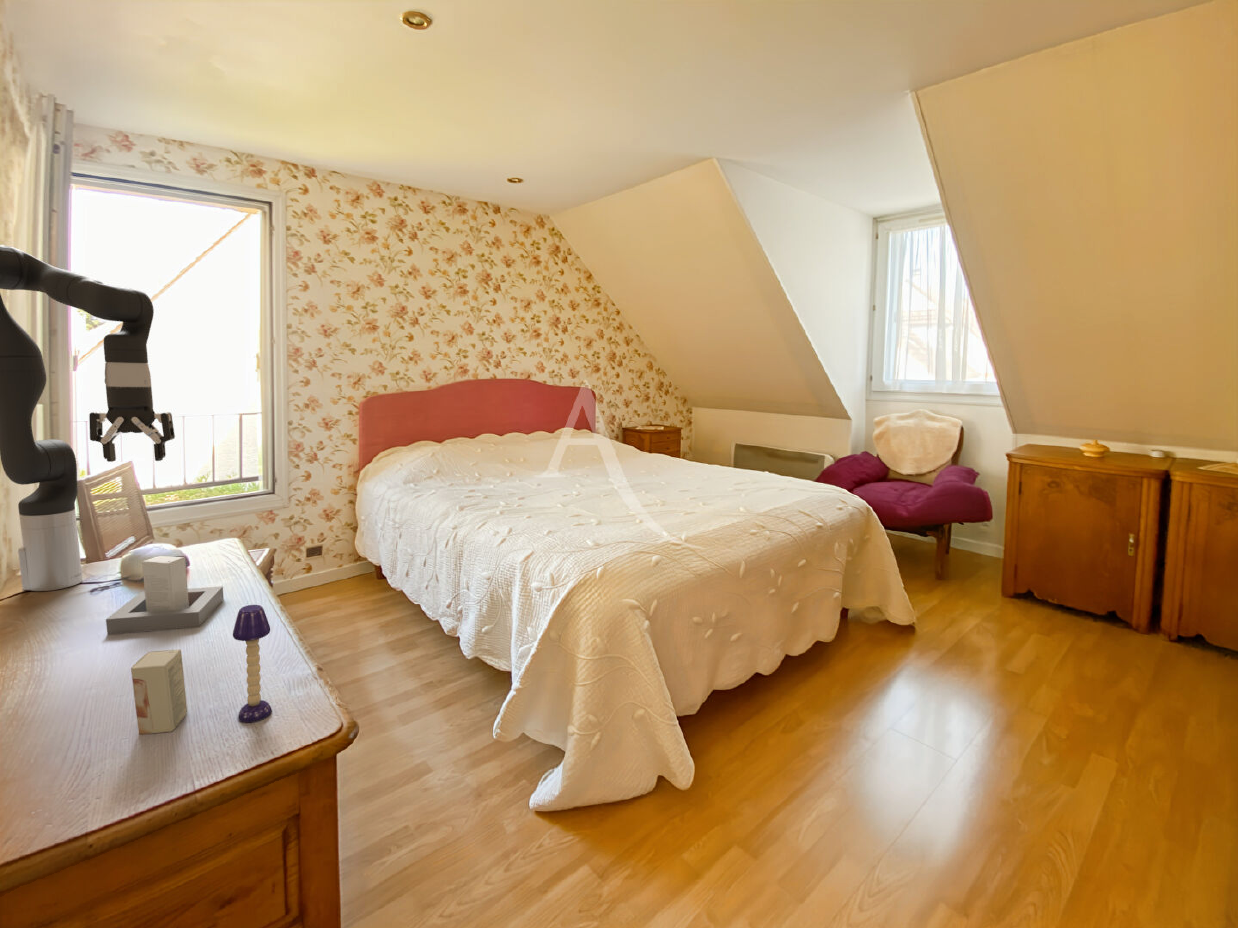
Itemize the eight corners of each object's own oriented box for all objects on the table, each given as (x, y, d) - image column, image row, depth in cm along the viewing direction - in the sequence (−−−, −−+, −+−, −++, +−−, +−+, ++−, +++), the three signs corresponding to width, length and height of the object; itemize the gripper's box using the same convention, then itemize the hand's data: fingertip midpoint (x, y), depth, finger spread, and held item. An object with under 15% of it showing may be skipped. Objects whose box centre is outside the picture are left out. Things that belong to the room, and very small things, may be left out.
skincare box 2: (154, 715, 89) (148, 650, 87) (188, 712, 90) (183, 648, 88) (135, 736, 84) (128, 667, 82) (171, 732, 85) (165, 664, 83)
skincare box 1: (190, 612, 126) (186, 556, 124) (173, 620, 121) (169, 563, 120) (163, 610, 126) (158, 555, 124) (145, 618, 122) (140, 561, 120)
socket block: (107, 634, 114) (105, 619, 114) (142, 605, 129) (141, 591, 128) (199, 626, 119) (198, 612, 119) (223, 599, 133) (222, 586, 133)
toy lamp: (281, 707, 92) (275, 601, 89) (264, 724, 87) (257, 614, 85) (248, 707, 92) (242, 601, 89) (230, 724, 87) (222, 613, 84)
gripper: (175, 385, 133) (181, 458, 136) (96, 383, 129) (104, 459, 131) (161, 385, 126) (167, 462, 129) (77, 384, 122) (85, 464, 124)
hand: (135, 460), depth 130 cm, fingers open, 8 cm apart
